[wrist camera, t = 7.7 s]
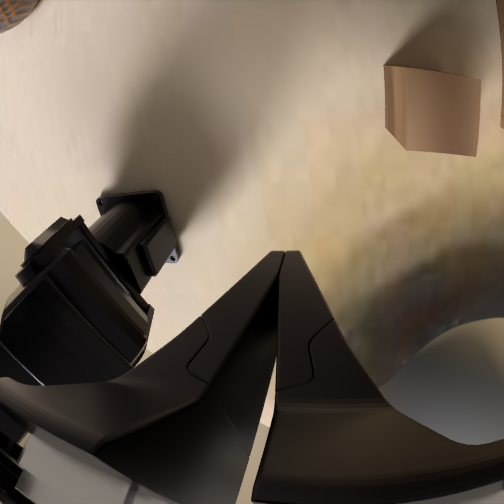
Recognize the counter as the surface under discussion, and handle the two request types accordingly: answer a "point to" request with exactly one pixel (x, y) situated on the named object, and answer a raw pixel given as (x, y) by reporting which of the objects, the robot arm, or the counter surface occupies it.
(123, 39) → the counter surface
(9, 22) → the vase
